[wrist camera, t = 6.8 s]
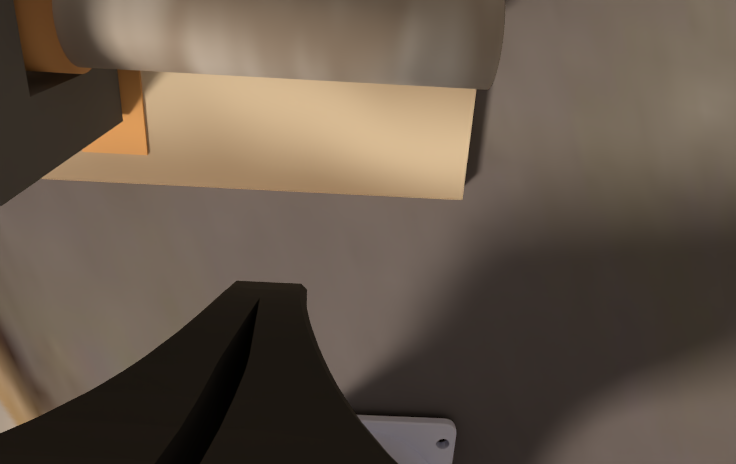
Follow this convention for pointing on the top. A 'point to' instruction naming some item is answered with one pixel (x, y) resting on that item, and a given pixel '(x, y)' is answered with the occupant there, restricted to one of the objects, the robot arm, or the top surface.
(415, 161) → the pipe stand
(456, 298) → the top surface
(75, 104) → the collar
